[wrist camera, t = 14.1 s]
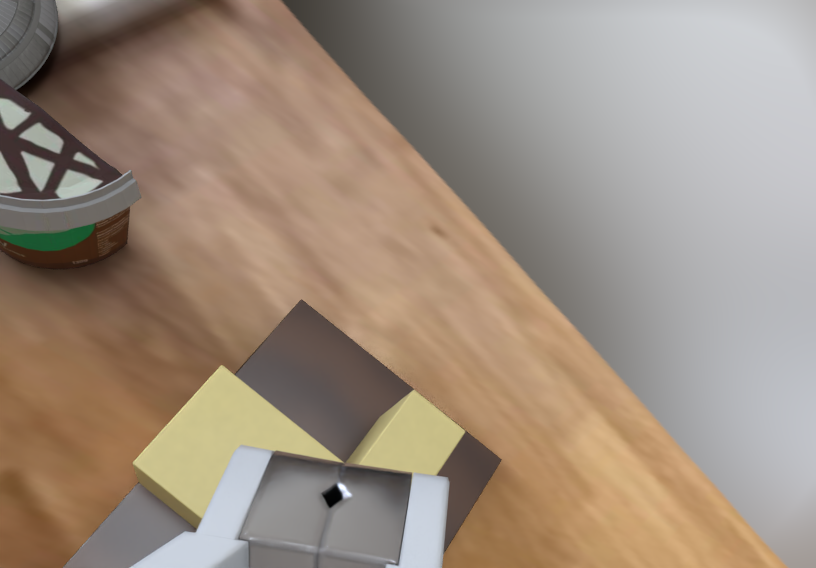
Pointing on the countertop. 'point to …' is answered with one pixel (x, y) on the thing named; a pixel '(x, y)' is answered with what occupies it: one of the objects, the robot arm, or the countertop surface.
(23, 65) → the flying saucer
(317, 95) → the countertop surface
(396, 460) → the butter slice
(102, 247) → the food container
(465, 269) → the countertop surface
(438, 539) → the robot arm
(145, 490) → the butter board
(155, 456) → the butter block
